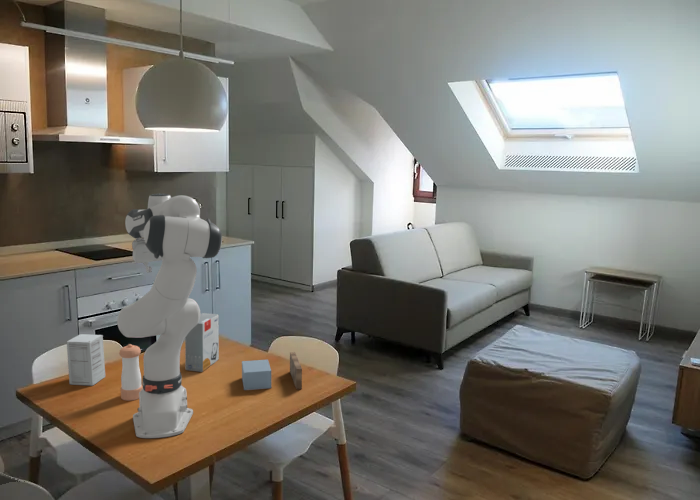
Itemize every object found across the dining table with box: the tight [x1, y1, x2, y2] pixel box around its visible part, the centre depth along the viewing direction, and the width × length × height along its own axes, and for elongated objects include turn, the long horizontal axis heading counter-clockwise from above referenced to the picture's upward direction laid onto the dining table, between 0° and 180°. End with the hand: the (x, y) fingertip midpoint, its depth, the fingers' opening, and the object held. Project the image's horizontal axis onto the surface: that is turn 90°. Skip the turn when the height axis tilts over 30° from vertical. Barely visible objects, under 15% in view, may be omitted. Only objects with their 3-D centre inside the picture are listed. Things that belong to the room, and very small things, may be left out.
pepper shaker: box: [119, 343, 143, 401], centre depth 198 cm, size 7×7×19 cm
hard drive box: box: [184, 312, 220, 373], centre depth 230 cm, size 16×8×20 cm, turn 168°
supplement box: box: [66, 333, 106, 387], centre depth 211 cm, size 10×9×17 cm
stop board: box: [289, 351, 303, 390], centre depth 217 cm, size 18×2×8 cm, turn 14°
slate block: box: [241, 359, 272, 391], centre depth 214 cm, size 12×10×7 cm
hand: (161, 270), depth 213 cm, fingers open, 8 cm apart
